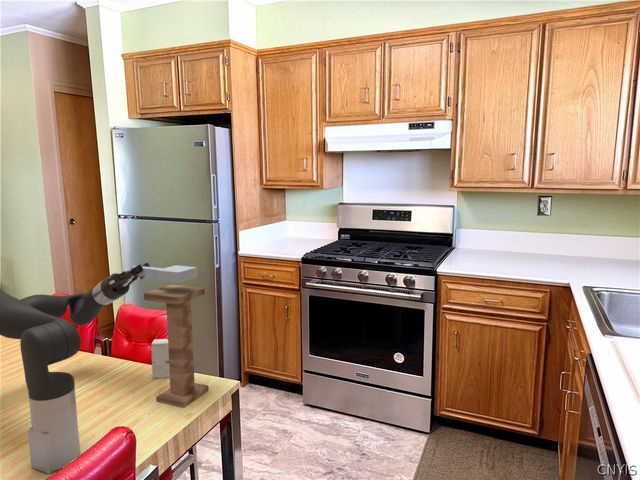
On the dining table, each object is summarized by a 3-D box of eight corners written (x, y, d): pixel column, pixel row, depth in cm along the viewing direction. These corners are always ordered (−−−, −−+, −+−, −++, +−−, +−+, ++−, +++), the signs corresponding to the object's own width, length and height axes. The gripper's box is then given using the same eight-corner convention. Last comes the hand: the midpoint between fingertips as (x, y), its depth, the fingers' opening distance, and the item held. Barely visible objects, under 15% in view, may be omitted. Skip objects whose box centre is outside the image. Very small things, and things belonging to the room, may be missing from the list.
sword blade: (179, 282, 128) (178, 272, 127) (124, 276, 136) (123, 266, 136) (197, 277, 135) (196, 267, 135) (143, 271, 143) (143, 262, 143)
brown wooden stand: (182, 408, 131) (177, 297, 126) (149, 399, 136) (143, 293, 131) (208, 390, 142) (204, 288, 137) (177, 383, 146) (172, 284, 142)
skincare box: (152, 378, 150) (150, 343, 148) (155, 373, 154) (153, 339, 153) (171, 377, 151) (169, 342, 149) (173, 371, 155) (172, 338, 153)
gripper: (132, 294, 151) (166, 272, 144) (97, 305, 138) (132, 282, 131) (123, 274, 151) (156, 252, 144) (87, 283, 138) (121, 259, 131)
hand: (144, 266), depth 138 cm, fingers closed on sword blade, 2 cm apart
